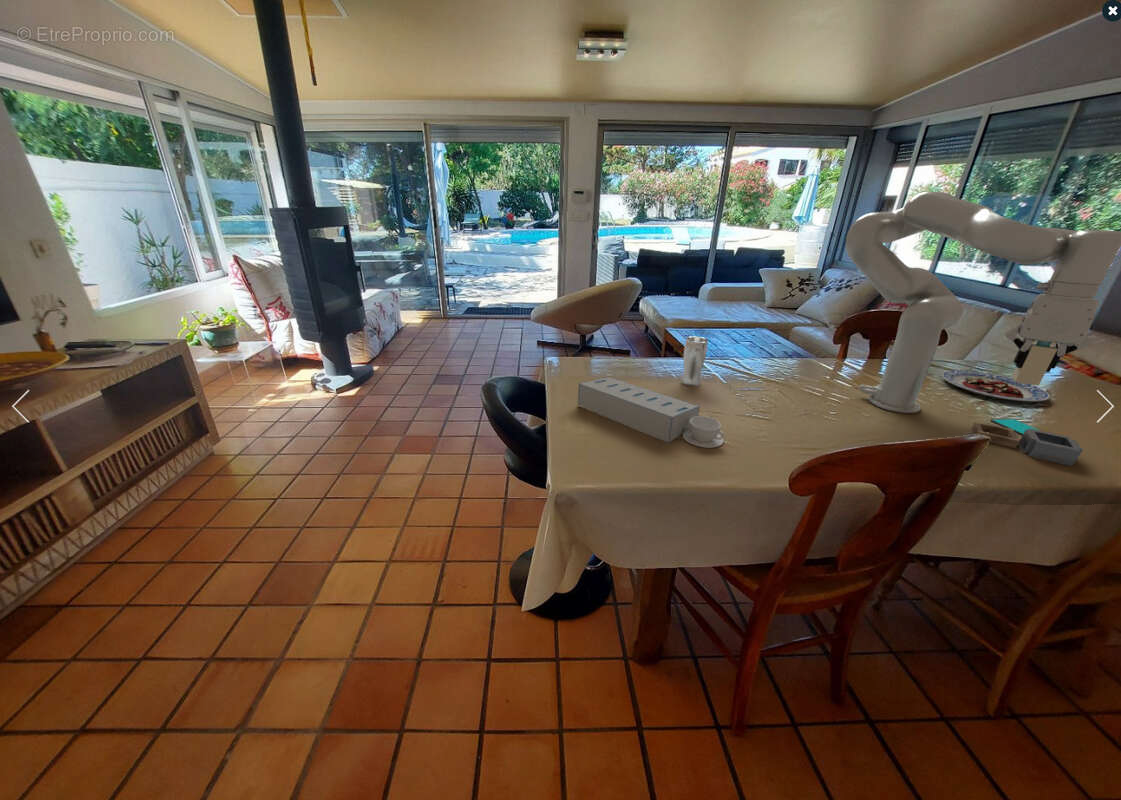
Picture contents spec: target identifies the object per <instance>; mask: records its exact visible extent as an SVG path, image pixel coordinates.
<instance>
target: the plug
mask: <svg viewBox="0 0 1121 800" xmlns="http://www.w3.org/2000/svg"><path fill="white" fill-rule="evenodd" d="M1056 351H1057V348H1056V347H1055V345H1053V344H1052V342H1044V341H1036V342H1033V344H1032V345H1031V346H1030V347H1029V350H1028V356H1027V358H1026V360H1025V362H1024V364H1023V366H1022V368H1017V367H1016V366H1015V370H1014V372H1013V374H1012V376H1011V378H1012V379H1014V381H1015V382H1019V383H1026V384H1032V385H1034V386H1037V387H1038V386H1040V384H1041V382H1042V380H1043V378H1044V376H1045V374H1046V373H1047V372H1046V370H1047V368H1048V367H1049V365H1050V363H1051V361H1052V359H1053V357H1054V355H1055V353H1056Z"/></svg>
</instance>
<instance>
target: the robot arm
mask: <svg viewBox="0 0 1121 800" xmlns="http://www.w3.org/2000/svg"><path fill="white" fill-rule="evenodd" d="M925 231H927V232H931V233H933V234H937V235H939V236H943V237H945V238H948V239H950V240H951V239H952V240H954V241H956V242H959V243H962V244H963V245H964V246H965V245H966V246H969V247H970V248H974V249H976V250H979V251H980V252H983V253H985V254H989V255H992V256H994V257H998V258H1000V259H1003V260H1006V261H1009V262H1013V263H1016V264H1021V265H1034V264H1042V263H1043V264H1044V263H1056V266H1055V269H1054V270H1053V273H1052V275H1051V277H1050V279H1049V280H1048V281H1046V282H1038V284H1037V287H1036V289H1037V290H1041V291H1043V293H1039V294H1038V295H1037V296H1036V298H1035V299H1034V300H1033V302H1032V303H1031V304H1030V306H1029V307H1028V309H1027V311H1026V312H1025V314H1024V316H1023V318H1022V319H1021V321H1020V322H1019V323H1018V324H1017V325H1015V326H1014V327H1012V328H1010V329H1009V330H1007V331H1006V332H1005V333H1004V337H1006V338H1008V340H1010V341H1011V342H1013V343H1014V345H1015V346H1016V348H1018V351H1017V353H1016V355H1015V357H1014V359H1013V364H1015V368H1016V367H1017V368H1022V366H1023V364H1024V362H1025V360H1026V358H1027V356H1028V350H1029V347H1030V346H1031V345H1032V344H1033V343H1035V341H1036V342H1037V341H1044V342H1052V343H1053V344H1054V346H1055V347H1056V348H1057V351H1056V353H1055V355H1054V357H1053V359H1052V361H1051V363H1050V365H1049V367H1048V368H1047V370H1046V372H1045V373H1050V372H1051V370H1054V369H1055V368H1056V366H1058V362H1059V361H1060V359H1061V357H1063V356H1065V355H1068V354H1070V353H1072V352H1074V351H1077V350H1081V349H1085V348H1089V347H1091V346H1092V345H1093V344H1092V342H1091V340H1090V338H1089V335H1088V333H1089V332H1090V331H1089V330H1090V328H1091V326H1092V324H1093V321H1094V318H1095V316H1096V312H1097V310H1098V306H1099V303H1100V302H1099V299H1097V298H1095V297H1096V294H1097V293H1098V291H1099V290H1100V287H1101V285H1102V283H1103V281H1104V279H1105V278H1106V275H1108V274H1107V273H1108V272H1109V270H1110V268H1111V265H1112V264H1113V262H1114V260H1115V258H1116V256H1117V254H1119V253H1118V252H1119V250H1120V249H1121V231H1119V230H1105V229H1104V230H1102V229H1098V230H1097V229H1096V230H1095V229H1088V230H1087V229H1085V230H1074V229H1073V230H1072V229H1065V228H1064V229H1063V228H1057V227H1039V226H1036V225H1031V224H1027V223H1023V222H1020V221H1017V220H1014V219H1010V218H1008V217H1004V216H1001V215H1000V214H998V213H996V212H994V210H992V208H991V207H989V206H986V205H983V204H979V203H976V202H973V201H968V200H964V199H961V198H957V197H954V196H953V195H951V194H950V193H949V192H942V191H931V190H930V191H923V192H919V193H918V194H915V195H913V196H912V197H911V198H909V200H908V201H907V202H906V203H905V205H904V206H903V207H902V208H898V209H896V210H894V211H890V212H887V211H885V212H884V211H879V212H877V211H876V212H875V211H874V212H869V213H866V214H864V215H861V216H859V218H857V219H856V220H855V221H853V223H852V225H850V228H849V229H848V231H847V235H846V240H845V249H846V253H847V256H848V257H849V259H850V260H851V262H852V263H853V264H854V266H856V267H857V269H858V270H859V271H860V272H861V273H862V274H863V276H864V277H865V278H866V279H867V280H868V281H869V282H870V283H871V285H872V286H873V287H874V288H875V289H876V290H877V292H878V293H879V294H880V295H881V296H882V298H884V299H885V300H886V301H887V302H889V303H892V304H902V303H904V304H906V305H907V306H906V308H905V309H904V310H903V312H902V313H901V315H900V318H899V322H898V328H897V332H896V337H895V340H894V343H893V346H892V347H891V348H892V349H891V352H890V354H889V358H888V360H887V363H886V367H885V370H883V375H882V377H881V380H880V383H878V384H876V385H872V386H871V385H867V384H862V383H861V384H860V386H859V388H858V391H862V392H863V393H864V394H868V395H869V396H868V401H869V402H870V403H871V404H872V405H875V406H876V407H878V408H880V409H885V410H887V411H891V412H896V413H901V414H903V413H904V414H914V413H918V412H920V410H921V408H922V405H920V403H919V402H917V399H918V397H919V395H920V393H921V390H922V388H923V385H924V383H925V380H926V378H927V375H928V373H929V370H930V367H931V365H932V362H933V360H934V357H935V354H936V352H937V350H938V346H939V342H940V337H941V334H942V330H945V329H948V328H950V327H953V326H954V325H956V324H957V323H958V322H959V321H960V320H961V319H962V316H963V314H964V313H963V312H964V308H963V305H962V303H961V301H960V300H959V299H958V297H957V296H956V295H955V294H954V293H953V292H952V291H951V290H950V289H949V288H948V287H947V286H946V285H945V284H944V283H943V282H942V281H941V280H940V279H939V278H938V277H937V276H936V275H935V274H934V273H933V272H931V271H930V270H928V269H925V268H922V267H909V266H907V265H906V264H905V263H904V262H903V261H902V260H901V259H900V258H899V257H898V256H897V254H896V253H894V251H892V250H891V249H890V248H889V247H887V246H886V245H885V244H888V243H893V242H896V241H898V240H902V239H904V238H907V237H911V236H913V235H916V234H918V233H922V232H925ZM1017 334H1019V336H1020V337H1021V338H1023V339H1021V338H1020V337H1018V336H1017ZM1052 343H1051V344H1052Z"/></svg>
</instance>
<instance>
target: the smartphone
mask: <svg viewBox="0 0 1121 800" xmlns="http://www.w3.org/2000/svg"><path fill="white" fill-rule="evenodd" d="M990 422H991V423H993V424H995V425H996V426H999V427H1004V428H1009V429H1013V430H1014V432H1015V434H1016V435H1017V434H1018V435H1020V436H1021V437H1022V436H1023V434H1024V432H1025V430H1028V428H1030V429H1035V430H1040V429H1038V428H1036V427H1033V426H1031V425H1029V424H1026V423H1024V422H1022V421H1019V420H1017V419H1015V418H999V419H998V418H996V419H990ZM1040 431H1042V430H1040Z"/></svg>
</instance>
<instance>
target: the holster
mask: <svg viewBox="0 0 1121 800" xmlns="http://www.w3.org/2000/svg"><path fill="white" fill-rule="evenodd" d="M971 431H972V433H973V435H974V434H981V435H985V436H988V437H990V438H991V441H992V442H994V443H992V442H990V443H992V444H996V445H1001V446H1005V447H1010V448H1013V449H1014V448H1015V449H1016V448H1017V446H1018V445H1019V444H1018V443H1019V441H1020V439H1019V438H1018V435H1017V433H1015V432H1014V430H1013V429H1009V428H1004V427H1002V426H999V425H996V424H995V425H993V424H990V423H985V422H980V421H975V420H974V422H973V423H972V425H971ZM987 432H989V433H987Z"/></svg>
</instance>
